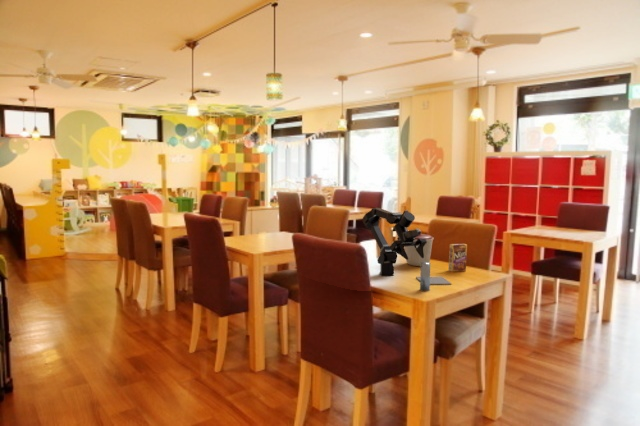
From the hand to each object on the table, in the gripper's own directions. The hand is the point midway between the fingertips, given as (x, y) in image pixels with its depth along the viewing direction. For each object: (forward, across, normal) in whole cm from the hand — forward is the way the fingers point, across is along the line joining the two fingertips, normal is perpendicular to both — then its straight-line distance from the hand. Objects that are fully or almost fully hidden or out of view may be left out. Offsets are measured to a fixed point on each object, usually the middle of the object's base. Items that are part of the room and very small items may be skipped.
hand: (415, 258), depth 217 cm
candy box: (-2, +42, +22) cm, 47 cm away
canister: (-18, +31, +38) cm, 52 cm away
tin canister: (+15, 0, +4) cm, 16 cm away
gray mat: (+7, +14, +12) cm, 20 cm away
